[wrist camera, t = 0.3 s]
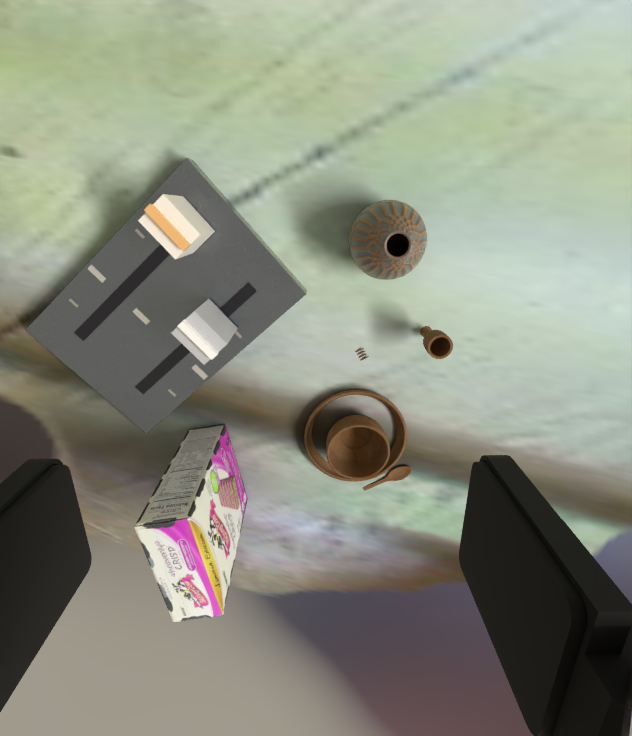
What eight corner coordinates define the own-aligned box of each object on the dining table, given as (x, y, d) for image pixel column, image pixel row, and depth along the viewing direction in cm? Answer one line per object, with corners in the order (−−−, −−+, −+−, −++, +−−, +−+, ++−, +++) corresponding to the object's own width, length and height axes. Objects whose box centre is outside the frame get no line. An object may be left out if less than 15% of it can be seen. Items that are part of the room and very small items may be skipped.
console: (37, 324, 44) (24, 330, 42) (192, 160, 38) (186, 157, 36) (152, 425, 48) (145, 434, 46) (306, 290, 43) (306, 294, 41)
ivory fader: (160, 218, 38) (134, 220, 32) (182, 195, 37) (159, 193, 32) (193, 253, 39) (173, 260, 34) (215, 231, 38) (198, 235, 33)
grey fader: (187, 317, 41) (168, 334, 36) (208, 298, 41) (191, 312, 35) (217, 346, 42) (202, 368, 37) (238, 328, 42) (226, 346, 36)
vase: (337, 262, 42) (343, 274, 34) (359, 191, 40) (371, 186, 31) (401, 281, 43) (422, 298, 34) (426, 213, 40) (455, 214, 32)
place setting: (271, 395, 48) (266, 419, 42) (428, 308, 44) (445, 322, 39) (345, 502, 53) (349, 535, 48) (490, 432, 50) (512, 459, 44)
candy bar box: (250, 498, 52) (225, 618, 37) (212, 504, 52) (171, 625, 37) (228, 421, 48) (188, 519, 33) (186, 427, 48) (128, 528, 33)
